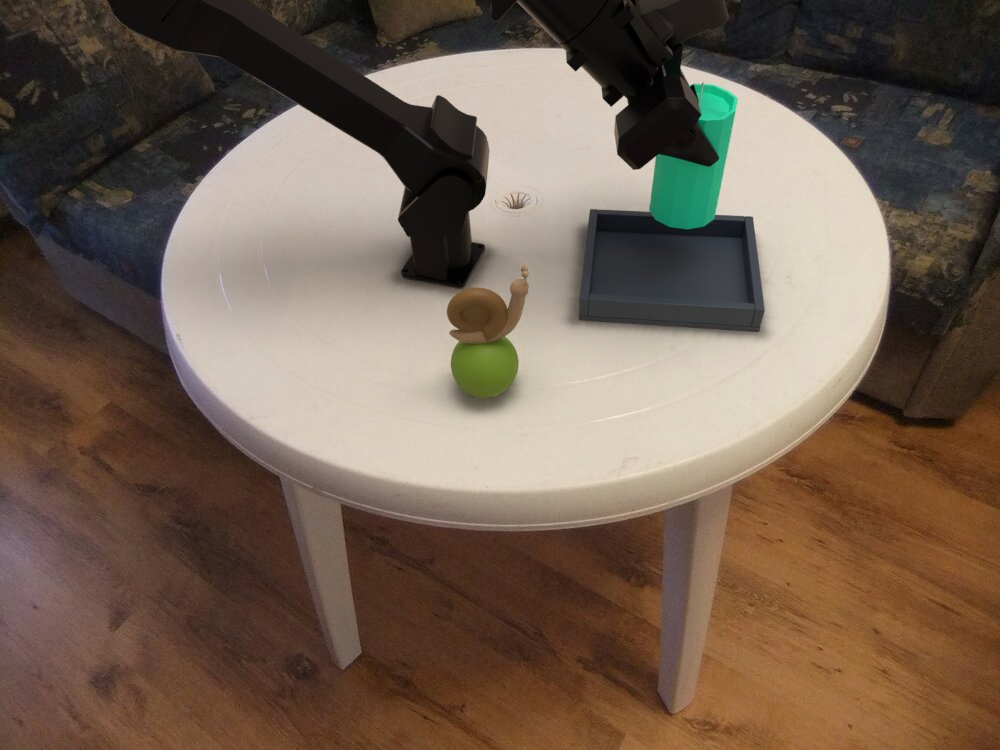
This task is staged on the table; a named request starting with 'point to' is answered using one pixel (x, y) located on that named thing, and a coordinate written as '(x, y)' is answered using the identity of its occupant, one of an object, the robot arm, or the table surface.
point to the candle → (695, 167)
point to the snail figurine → (485, 338)
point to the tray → (671, 272)
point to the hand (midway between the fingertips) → (709, 144)
